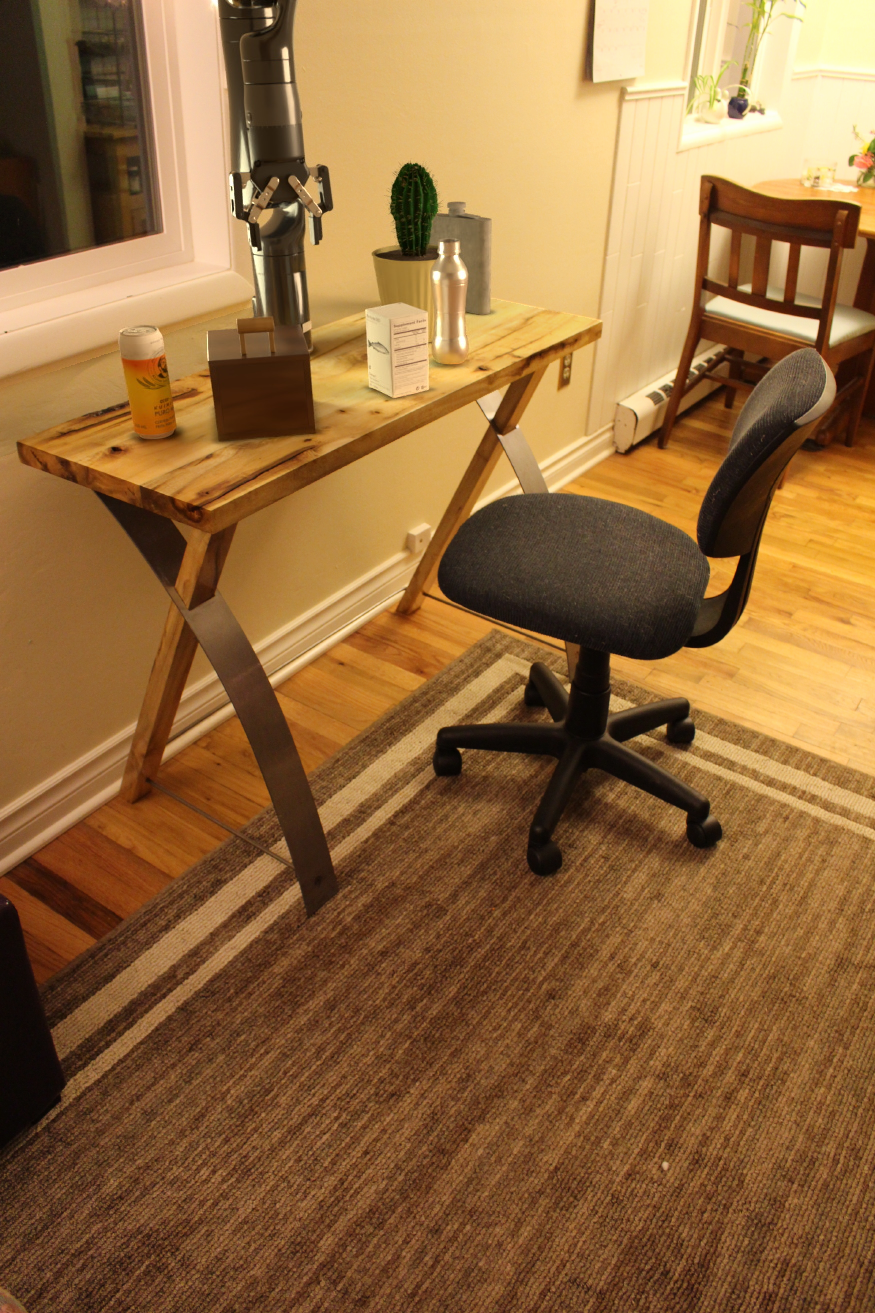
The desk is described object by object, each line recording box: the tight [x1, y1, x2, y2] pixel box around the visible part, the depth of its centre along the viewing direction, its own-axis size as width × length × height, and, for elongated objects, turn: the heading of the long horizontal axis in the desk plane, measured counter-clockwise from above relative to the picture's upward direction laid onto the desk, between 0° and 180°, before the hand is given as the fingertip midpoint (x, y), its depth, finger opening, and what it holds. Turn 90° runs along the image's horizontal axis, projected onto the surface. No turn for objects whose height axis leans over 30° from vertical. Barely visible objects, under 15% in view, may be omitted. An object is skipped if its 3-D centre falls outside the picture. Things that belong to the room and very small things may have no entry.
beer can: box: [117, 324, 177, 440], centre depth 147 cm, size 6×6×15 cm
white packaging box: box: [364, 303, 430, 399], centre depth 163 cm, size 7×7×13 cm
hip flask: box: [429, 201, 492, 316], centre depth 203 cm, size 16×4×20 cm, turn 58°
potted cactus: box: [371, 159, 444, 343], centre depth 184 cm, size 15×15×30 cm
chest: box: [208, 358, 317, 442], centre depth 152 cm, size 15×14×11 cm
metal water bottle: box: [430, 238, 470, 365], centre depth 172 cm, size 6×7×20 cm
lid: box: [206, 317, 311, 368], centre depth 147 cm, size 16×14×6 cm
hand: (286, 247), depth 148 cm, fingers open, 8 cm apart
